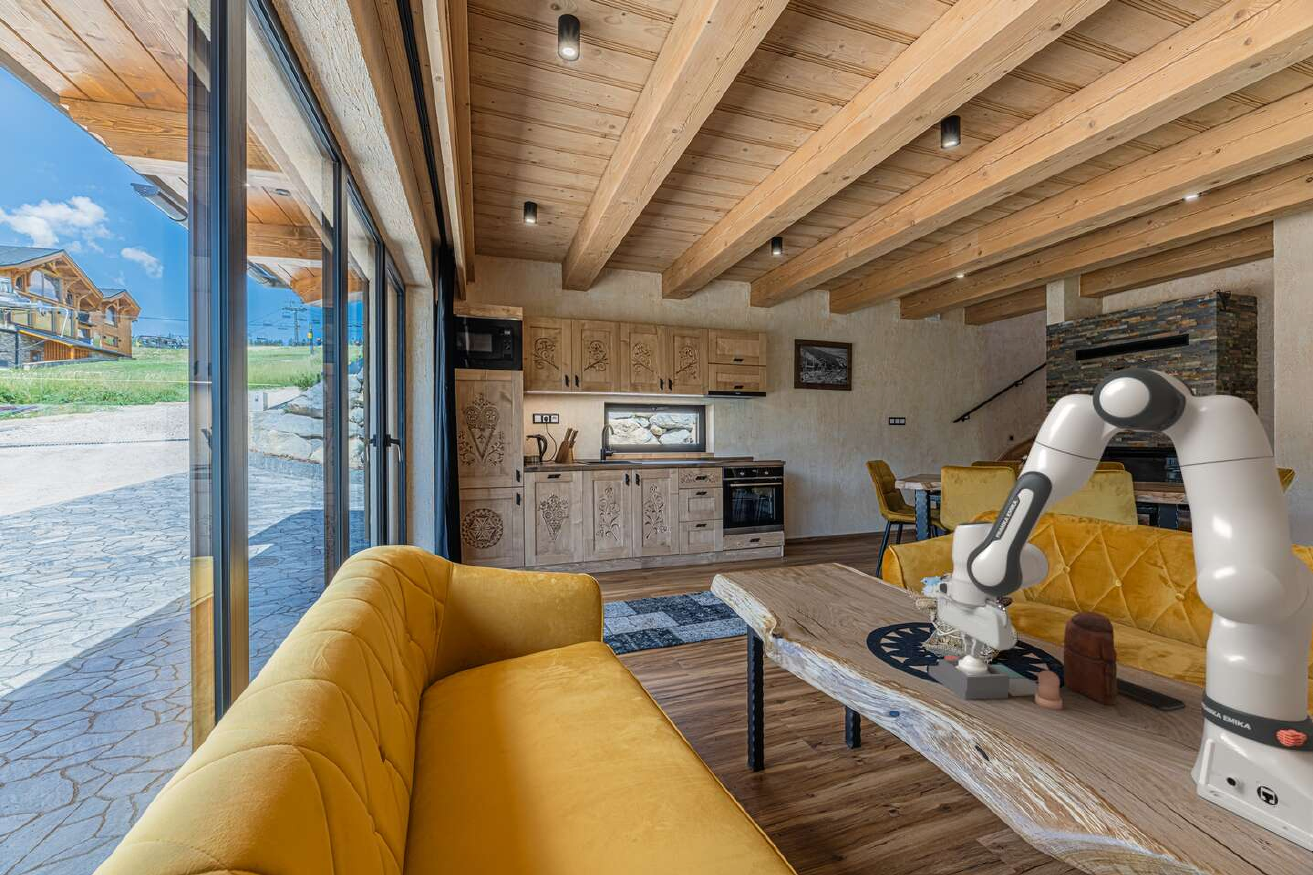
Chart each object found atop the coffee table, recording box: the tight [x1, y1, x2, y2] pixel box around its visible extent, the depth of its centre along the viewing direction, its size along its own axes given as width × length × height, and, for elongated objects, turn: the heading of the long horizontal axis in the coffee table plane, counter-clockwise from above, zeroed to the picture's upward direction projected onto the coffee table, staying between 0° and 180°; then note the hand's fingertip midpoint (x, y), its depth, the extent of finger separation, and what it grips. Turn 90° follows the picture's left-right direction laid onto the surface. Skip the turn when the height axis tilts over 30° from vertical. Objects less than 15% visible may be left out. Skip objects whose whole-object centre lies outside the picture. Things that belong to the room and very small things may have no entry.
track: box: [990, 664, 1038, 697], centre depth 131 cm, size 16×10×1 cm, turn 7°
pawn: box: [1034, 669, 1064, 711], centre depth 119 cm, size 5×5×7 cm
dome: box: [956, 654, 991, 675], centre depth 125 cm, size 7×7×5 cm
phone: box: [1116, 676, 1186, 712], centre depth 125 cm, size 8×1×15 cm
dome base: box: [928, 655, 1009, 701], centre depth 127 cm, size 13×10×5 cm
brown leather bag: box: [1063, 611, 1118, 706], centre depth 125 cm, size 12×6×18 cm, turn 13°
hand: (972, 654), depth 126 cm, fingers closed, pressing on dome
